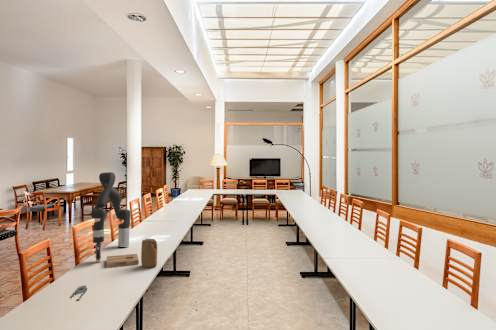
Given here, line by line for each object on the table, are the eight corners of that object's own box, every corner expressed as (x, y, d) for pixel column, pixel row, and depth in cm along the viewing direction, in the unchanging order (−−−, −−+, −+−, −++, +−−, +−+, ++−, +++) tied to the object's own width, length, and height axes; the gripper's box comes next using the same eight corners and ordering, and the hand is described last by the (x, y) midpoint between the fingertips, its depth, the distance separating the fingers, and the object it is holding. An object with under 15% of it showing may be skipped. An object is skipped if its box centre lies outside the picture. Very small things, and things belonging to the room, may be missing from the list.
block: (140, 267, 230) (140, 240, 229) (144, 264, 237) (144, 237, 237) (154, 268, 229) (155, 240, 229) (158, 265, 237) (158, 238, 236)
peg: (95, 261, 241) (95, 248, 241) (101, 260, 242) (101, 247, 242) (95, 262, 237) (95, 249, 237) (100, 262, 239) (101, 248, 239)
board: (106, 260, 245) (106, 256, 245) (136, 257, 253) (137, 253, 253) (106, 267, 228) (106, 263, 228) (138, 264, 237) (138, 260, 237)
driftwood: (79, 287, 195) (79, 283, 195) (91, 286, 196) (91, 283, 196) (66, 302, 175) (66, 298, 174) (79, 302, 176) (79, 298, 176)
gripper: (93, 233, 244) (93, 255, 245) (92, 238, 231) (92, 261, 232) (104, 233, 247) (103, 254, 248) (103, 237, 234) (103, 260, 235)
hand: (98, 258), depth 240 cm, fingers closed on peg, 4 cm apart
